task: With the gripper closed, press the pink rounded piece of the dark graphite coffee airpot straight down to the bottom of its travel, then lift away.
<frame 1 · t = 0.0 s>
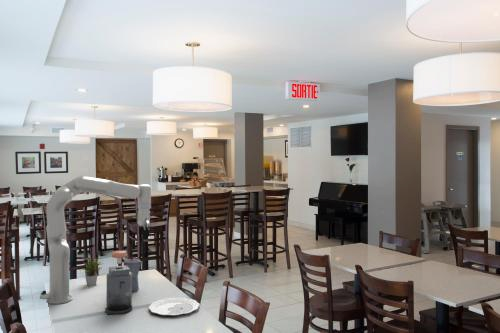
hand: (144, 235, 243), 31 cm above the table, tool pointing down, fingers open, 9 cm apart
airpot: (119, 310, 209), on the table
plate: (174, 309, 211), on the table
pink rounded piece: (119, 257, 208), point 26 cm above the table, slide at 0.0 cm
house plant: (91, 285, 249), on the table
moka pot: (130, 290, 240), on the table
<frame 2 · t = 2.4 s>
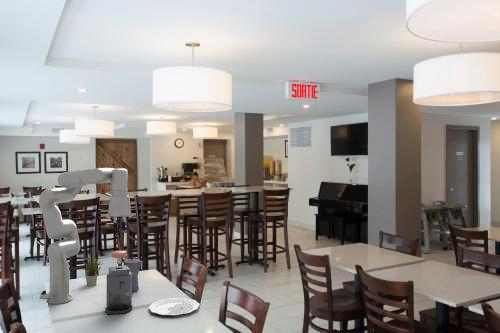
hand: (119, 229, 208), 40 cm above the table, tool pointing down, fingers closed
nothing on the table moved.
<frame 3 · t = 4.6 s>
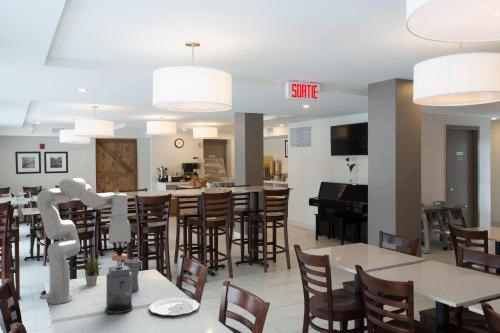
hand: (119, 255, 208), 28 cm above the table, tool pointing down, fingers closed
pink rounded piece: (119, 260, 208), point 25 cm above the table, slide at 1.4 cm, touching gripper
everything else where it was.
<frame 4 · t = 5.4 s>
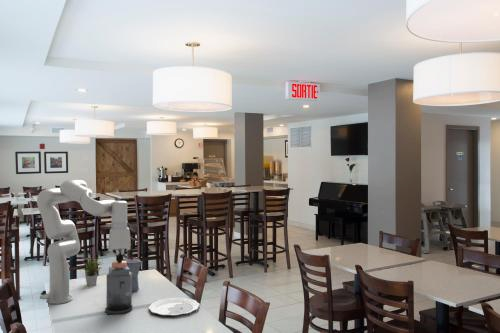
hand: (119, 262, 208), 24 cm above the table, tool pointing down, fingers closed
pink rounded piece: (119, 268, 208), point 21 cm above the table, slide at 5.1 cm, touching gripper
everything else where it was.
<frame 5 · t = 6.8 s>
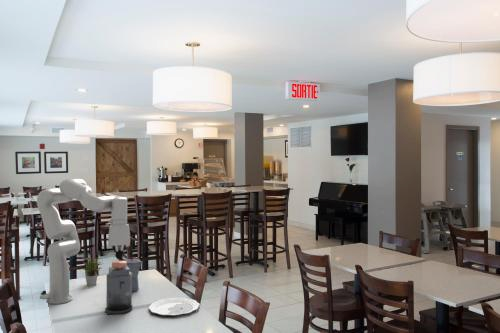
hand: (118, 258, 208), 26 cm above the table, tool pointing down, fingers closed
pink rounded piece: (119, 268, 208), point 21 cm above the table, slide at 5.1 cm
everything else where it was.
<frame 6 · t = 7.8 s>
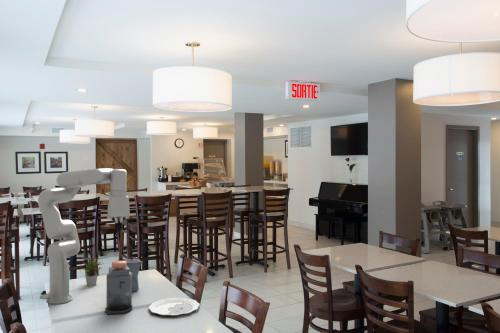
hand: (118, 230, 209), 40 cm above the table, tool pointing down, fingers closed
nothing on the table moved.
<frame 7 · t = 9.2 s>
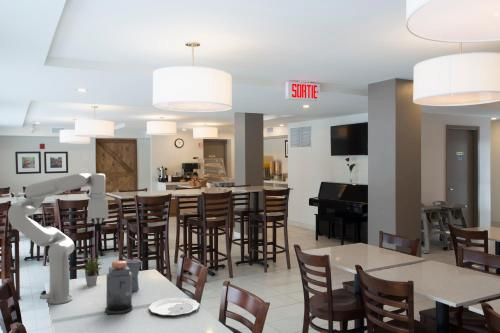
hand: (97, 230, 223), 37 cm above the table, tool pointing down, fingers closed
nothing on the table moved.
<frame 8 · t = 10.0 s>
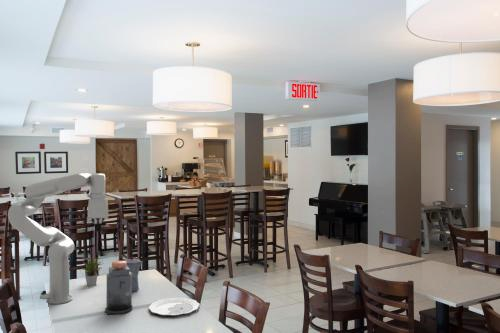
hand: (97, 230, 223), 37 cm above the table, tool pointing down, fingers closed
nothing on the table moved.
at the end: pink rounded piece slide at 5.1 cm; the gripper is holding nothing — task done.
